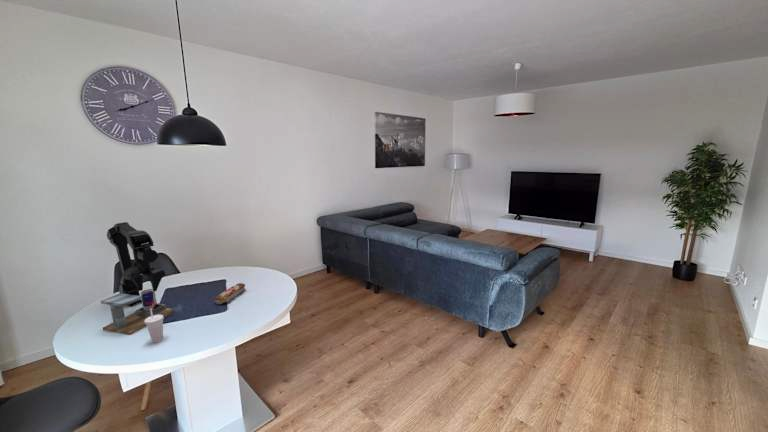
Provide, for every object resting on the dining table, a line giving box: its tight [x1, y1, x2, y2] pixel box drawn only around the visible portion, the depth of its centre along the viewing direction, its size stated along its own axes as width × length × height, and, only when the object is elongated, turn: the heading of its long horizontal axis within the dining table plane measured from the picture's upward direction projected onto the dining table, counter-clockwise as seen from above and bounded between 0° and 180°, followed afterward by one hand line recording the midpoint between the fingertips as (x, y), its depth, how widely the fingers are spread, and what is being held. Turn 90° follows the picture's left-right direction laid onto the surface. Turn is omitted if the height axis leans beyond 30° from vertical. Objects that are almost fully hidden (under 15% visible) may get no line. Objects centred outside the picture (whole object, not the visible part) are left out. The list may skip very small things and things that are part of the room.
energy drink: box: [140, 288, 157, 312], centre depth 151 cm, size 5×5×12 cm
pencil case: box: [214, 282, 246, 305], centre depth 169 cm, size 11×20×5 cm, turn 157°
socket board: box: [100, 293, 175, 336], centre depth 145 cm, size 16×21×14 cm
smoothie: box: [145, 308, 165, 343], centre depth 129 cm, size 6×6×14 cm
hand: (147, 290), depth 149 cm, fingers open, 9 cm apart
